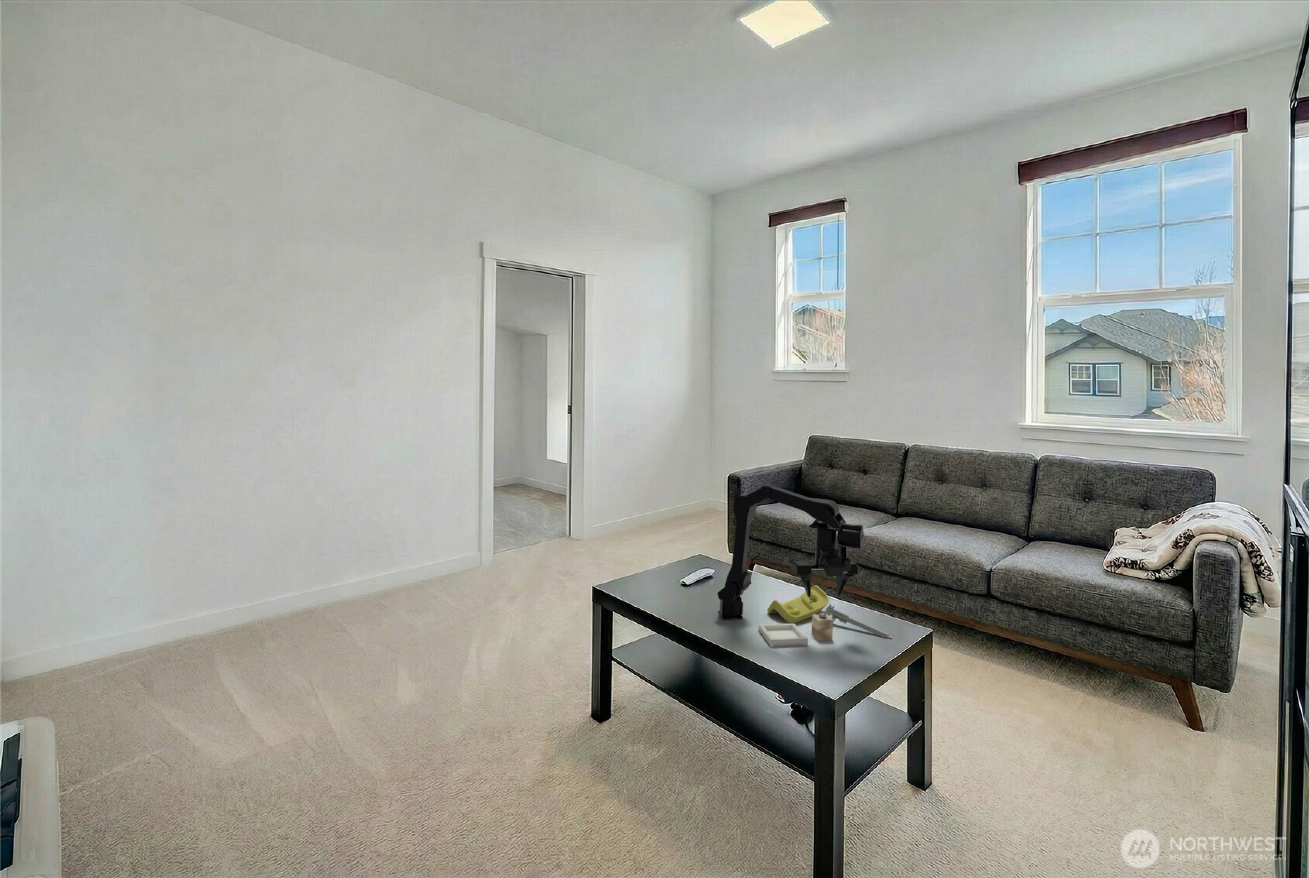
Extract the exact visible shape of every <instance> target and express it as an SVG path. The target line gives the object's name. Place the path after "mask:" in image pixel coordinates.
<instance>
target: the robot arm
mask: <svg viewBox="0 0 1309 878" xmlns="http://www.w3.org/2000/svg"><path fill="white" fill-rule="evenodd" d="M767 499H768V500H770V501H773V502H777V503H780V504H782V505H785V506H788V507H791V508H794V509H797V510H799V511H802V512H804V513H806V514H807V515H809V516H810V517H811V518H813V519H814V521H813V522H812V523H811V524H809V525H808V527H809V528H810V529H816V531H815V544H813V549H814V553H815V555H814V558H813V561H812V562H813V563H814V564H811V563H810V564H809V563H808V562H806V561H805V560H798V561H797V560H796V561H795V560H794V561H792V563H791V565H790V570H791V571H792V572H793V573H794V574H795V575H796V576H798V577H799V578H800V580H801V581H802V584H803V586H804V587H803V588H804V589H805V592H806V593H807V596H808V597H810V594H811V587H812V586H811V580H812V578H813V576H812V575H811V574H812V572H825V574H826V575H827V576H828V577H831V578H832V577H836V595H837V597H841V595H842V592H843V591H844V588H845V585H846V583H847V582H848V580H849V579H851V578H854V577H855V575H859V574H860V567H859V564H857V563H856V562H854V561H852V560H851V559H850V558H849V557H840V556H839V550H838V549H837V544H838V545H840V546H841V547H843V548H850V549H855V550H856V549H858V550H863V548H864V545H865V532H864V525H863V524H851V523H847V521H846V520H845V518H844V517H843V515H842V514H841V513H840V508H839V505H838V503H836V501H834V500H831V499H825V498H823V499H822V498H814V497H808V496H805V495H802V494H799V493H796V492H793V491H791V490H786V489H783V488H781V487H778V486H776V485H773V484H771V483H769V484H768V483H767V484H765V485H763V486H761V487H760V488H758V489H757V490H754V491H753V492H746V493H743V494H740V495H737V496H736V497H734V499H733V502H732V513H733V517H734V520H735V531H734V540H733V541H734V542H733V548H732V549H733V550H732V559H731V561H732V562H731V566H730V569H729V572H728V574H727V576H726V578H725V583H724V587H722V589H720V590H719V591H718V592H717V597H718V600H719V610H717V612H718V614H719V617H721V619H722V620H743V614H744V602H743V601H742V597H741V596H742V595H743V594H744V592H745V591H747V589H748V588H749V586H750V585H751V584H752V573H753V572H752V571H748V567H747V564H748V563H747V562H748V552H749V542H750V532H751V523H752V521H753V518H754V516H755V514H756V512H757V508H758V504H760V503H761V502H764V501H766V500H767Z"/></svg>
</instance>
